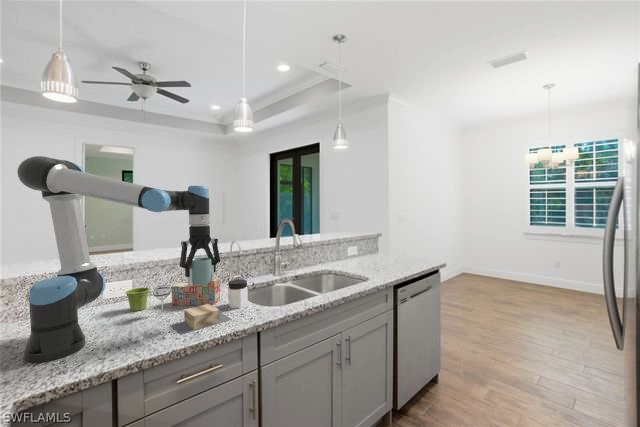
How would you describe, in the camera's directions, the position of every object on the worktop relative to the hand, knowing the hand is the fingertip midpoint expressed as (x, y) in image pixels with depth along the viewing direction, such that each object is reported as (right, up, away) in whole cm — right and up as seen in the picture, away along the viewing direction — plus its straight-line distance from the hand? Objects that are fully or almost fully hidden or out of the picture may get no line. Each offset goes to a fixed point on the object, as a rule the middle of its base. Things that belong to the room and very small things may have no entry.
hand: (201, 282), depth 118 cm
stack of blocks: (-12, -16, +26) cm, 33 cm away
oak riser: (0, -16, +1) cm, 16 cm away
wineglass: (-22, -17, +12) cm, 30 cm away
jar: (+9, -16, +20) cm, 27 cm away
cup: (0, -1, 0) cm, 1 cm away
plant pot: (-36, -17, +19) cm, 44 cm away
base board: (0, -17, +1) cm, 17 cm away
